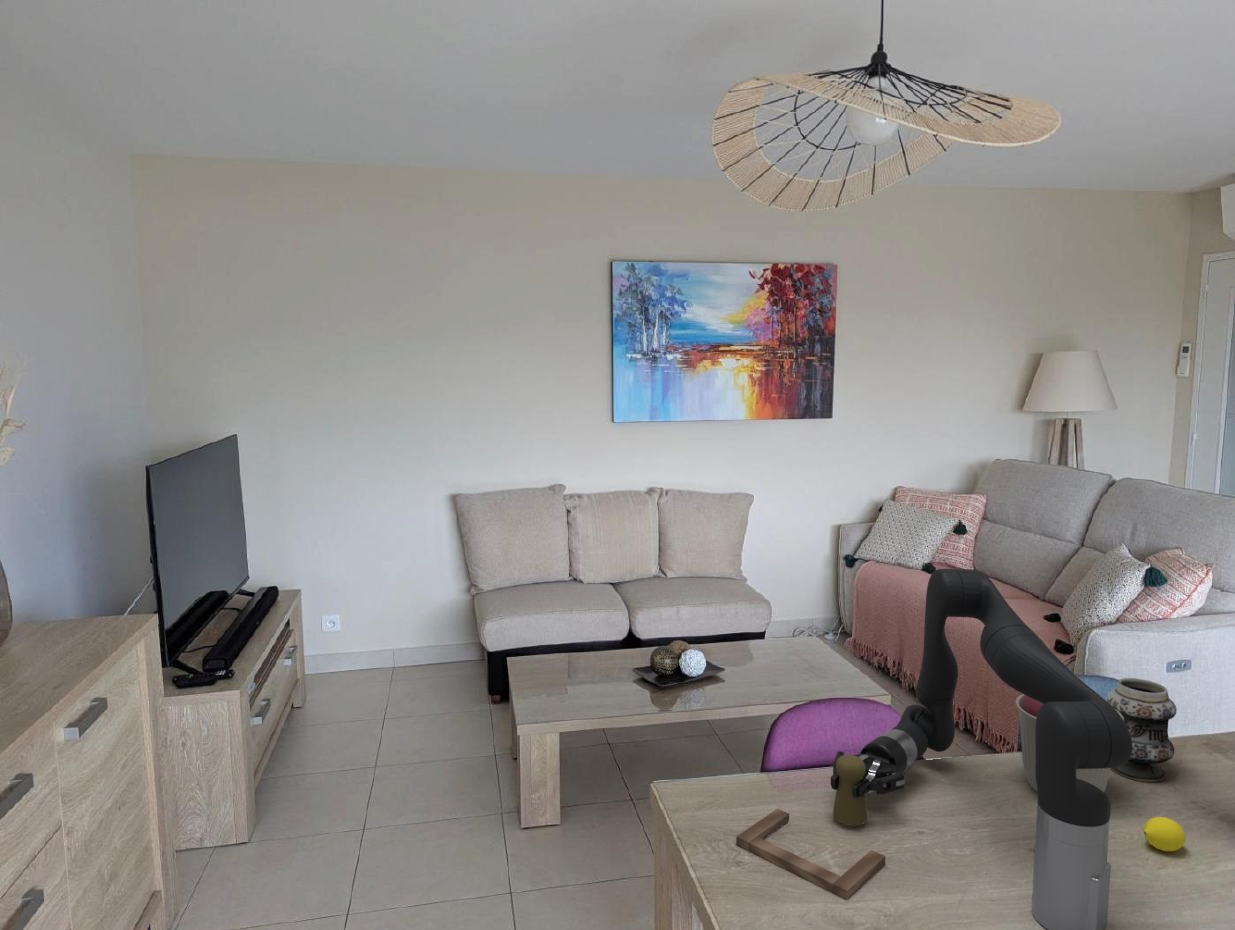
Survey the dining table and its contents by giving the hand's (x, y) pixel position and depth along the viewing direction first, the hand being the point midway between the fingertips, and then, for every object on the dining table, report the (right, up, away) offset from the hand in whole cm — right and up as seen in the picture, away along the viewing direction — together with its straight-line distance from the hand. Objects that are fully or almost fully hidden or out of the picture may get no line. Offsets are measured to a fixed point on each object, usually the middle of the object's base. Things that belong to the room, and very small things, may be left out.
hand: (844, 788), depth 143 cm
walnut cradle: (-8, -8, -7) cm, 13 cm away
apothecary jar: (+65, -5, +21) cm, 69 cm away
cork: (+2, -6, +3) cm, 7 cm away
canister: (+46, -6, +13) cm, 48 cm away
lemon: (+52, -8, -6) cm, 53 cm away
